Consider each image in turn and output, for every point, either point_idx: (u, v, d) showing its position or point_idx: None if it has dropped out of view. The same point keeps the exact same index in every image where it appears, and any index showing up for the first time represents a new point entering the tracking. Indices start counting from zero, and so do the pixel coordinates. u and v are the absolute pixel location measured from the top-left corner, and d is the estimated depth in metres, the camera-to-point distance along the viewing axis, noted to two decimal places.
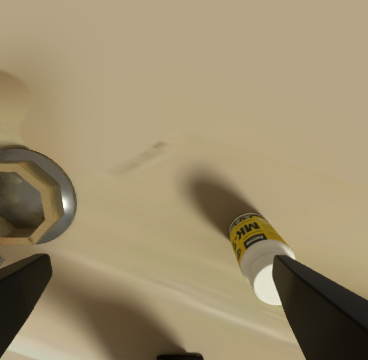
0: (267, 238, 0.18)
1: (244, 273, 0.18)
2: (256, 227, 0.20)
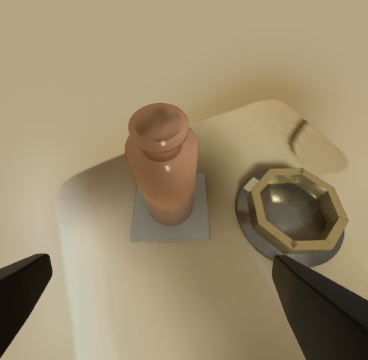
0: None
1: None
2: None
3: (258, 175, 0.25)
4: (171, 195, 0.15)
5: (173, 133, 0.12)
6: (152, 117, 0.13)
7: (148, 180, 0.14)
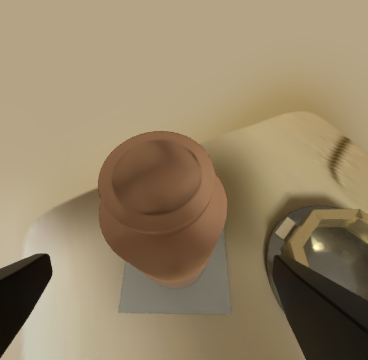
0: None
1: None
2: None
3: (293, 214, 0.18)
4: (179, 277, 0.09)
5: (185, 196, 0.06)
6: (145, 160, 0.07)
7: (137, 267, 0.08)
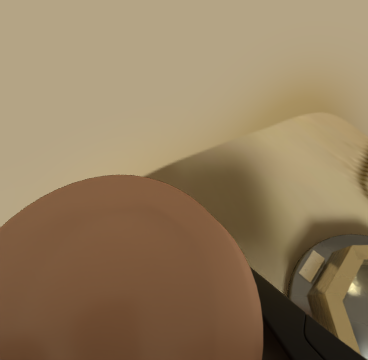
0: None
1: None
2: None
3: (320, 245, 0.14)
4: None
5: None
6: (73, 259, 0.03)
7: None
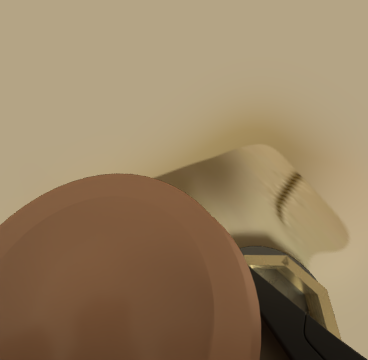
0: None
1: None
2: None
3: None
4: None
5: None
6: (71, 257, 0.03)
7: None
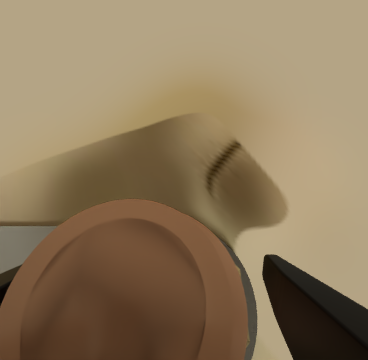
0: None
1: None
2: None
3: None
4: None
5: None
6: (98, 267, 0.03)
7: None
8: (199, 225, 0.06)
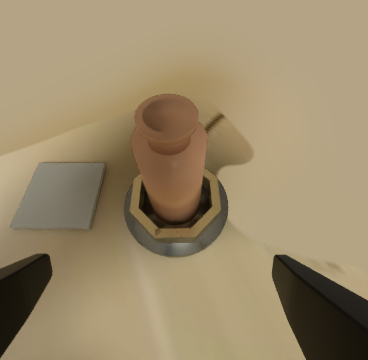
0: None
1: None
2: None
3: None
4: (178, 191, 0.15)
5: (182, 124, 0.11)
6: (160, 108, 0.12)
7: (154, 174, 0.13)
8: None
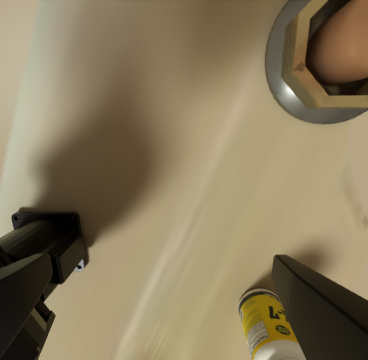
0: None
1: (278, 348, 0.17)
2: None
3: None
4: None
5: None
6: None
7: None
8: None
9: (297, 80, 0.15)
